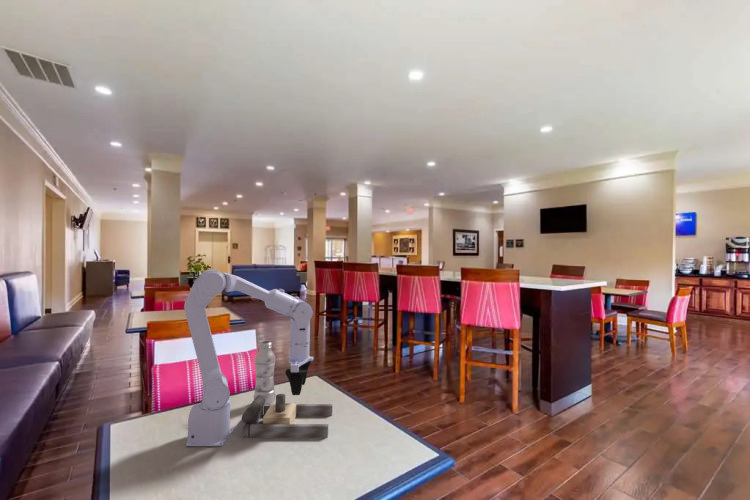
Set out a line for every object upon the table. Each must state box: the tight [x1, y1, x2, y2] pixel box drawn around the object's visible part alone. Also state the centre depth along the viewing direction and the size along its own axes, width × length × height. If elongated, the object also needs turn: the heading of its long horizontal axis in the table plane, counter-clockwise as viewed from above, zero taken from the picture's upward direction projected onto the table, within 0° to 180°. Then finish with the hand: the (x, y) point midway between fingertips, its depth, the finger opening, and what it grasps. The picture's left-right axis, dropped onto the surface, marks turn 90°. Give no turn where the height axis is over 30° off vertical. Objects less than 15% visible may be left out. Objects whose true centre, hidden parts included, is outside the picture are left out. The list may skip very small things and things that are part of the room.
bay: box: [241, 395, 333, 439], centre depth 96 cm, size 23×14×7 cm, turn 92°
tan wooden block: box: [262, 393, 297, 424], centre depth 96 cm, size 7×9×8 cm
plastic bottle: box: [253, 340, 277, 406], centre depth 112 cm, size 6×7×20 cm
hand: (298, 389), depth 101 cm, fingers open, 7 cm apart
